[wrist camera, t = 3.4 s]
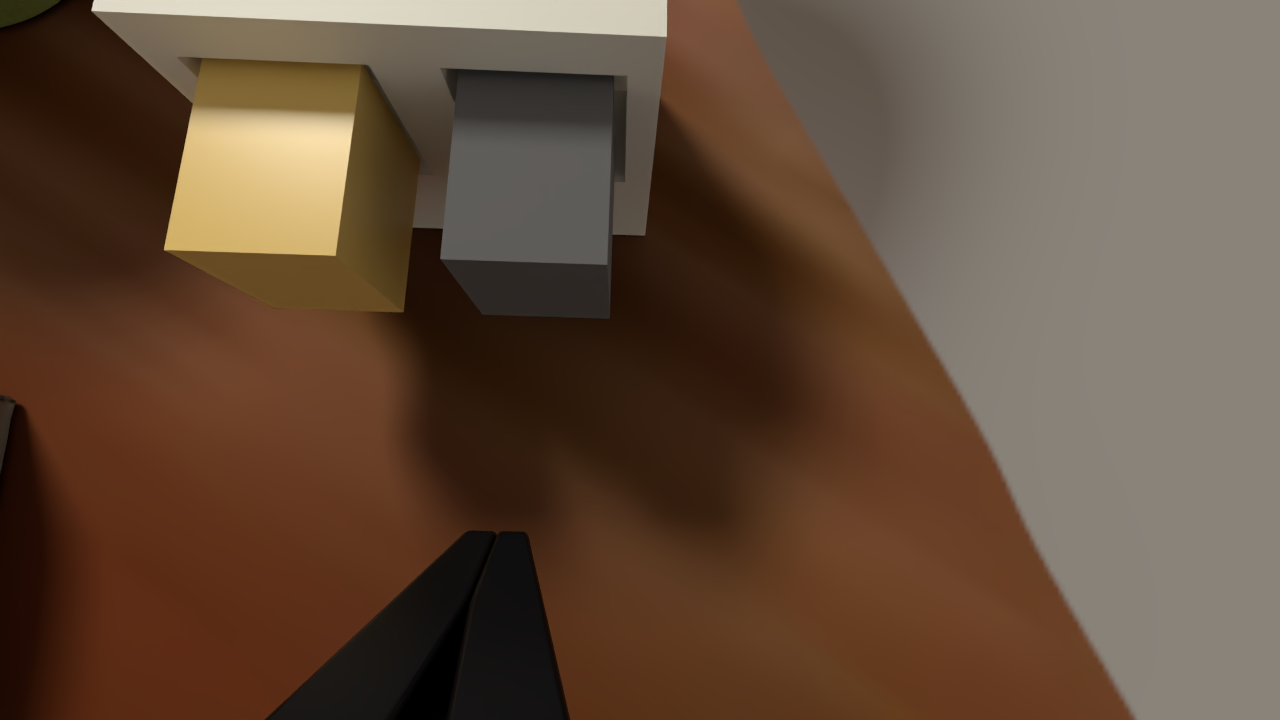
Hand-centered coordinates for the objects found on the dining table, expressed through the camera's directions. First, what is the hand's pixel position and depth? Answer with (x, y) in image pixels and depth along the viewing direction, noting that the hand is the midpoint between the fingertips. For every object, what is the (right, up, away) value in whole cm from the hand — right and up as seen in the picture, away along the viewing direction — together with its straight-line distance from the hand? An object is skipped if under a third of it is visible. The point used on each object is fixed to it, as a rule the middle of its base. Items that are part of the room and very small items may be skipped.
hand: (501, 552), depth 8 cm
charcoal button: (-1, +6, +8) cm, 10 cm away
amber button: (-6, +6, +8) cm, 12 cm away
